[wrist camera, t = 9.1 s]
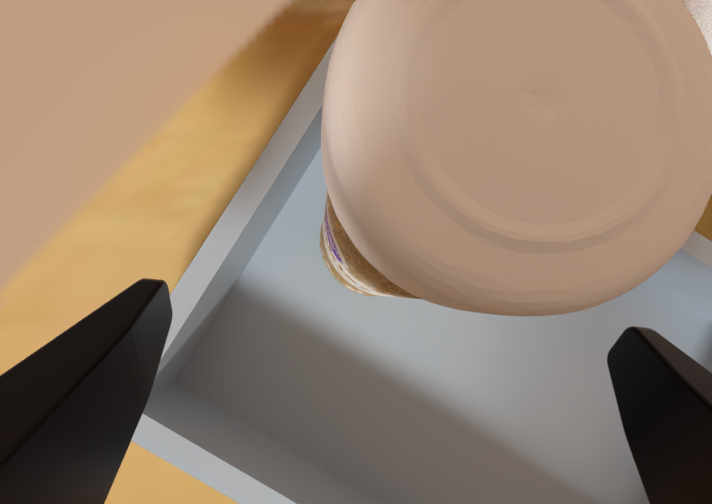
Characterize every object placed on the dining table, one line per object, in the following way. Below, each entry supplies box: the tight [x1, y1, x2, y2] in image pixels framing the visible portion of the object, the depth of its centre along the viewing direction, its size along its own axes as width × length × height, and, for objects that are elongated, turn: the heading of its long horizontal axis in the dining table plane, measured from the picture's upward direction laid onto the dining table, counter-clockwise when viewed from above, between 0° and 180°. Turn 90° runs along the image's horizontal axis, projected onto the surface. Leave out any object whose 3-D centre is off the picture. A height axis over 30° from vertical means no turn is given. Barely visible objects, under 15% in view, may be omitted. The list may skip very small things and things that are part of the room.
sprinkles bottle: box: [320, 0, 712, 316], centre depth 11 cm, size 5×5×13 cm
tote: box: [131, 35, 712, 504], centre depth 16 cm, size 15×21×4 cm
